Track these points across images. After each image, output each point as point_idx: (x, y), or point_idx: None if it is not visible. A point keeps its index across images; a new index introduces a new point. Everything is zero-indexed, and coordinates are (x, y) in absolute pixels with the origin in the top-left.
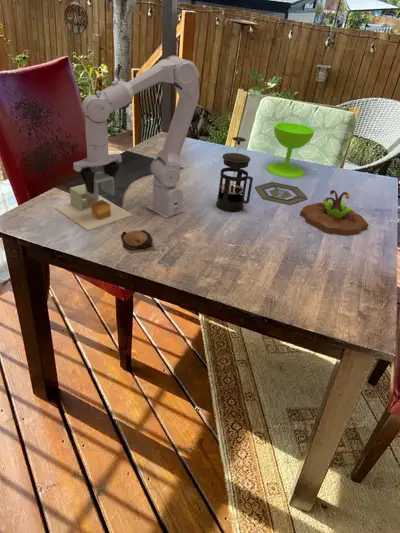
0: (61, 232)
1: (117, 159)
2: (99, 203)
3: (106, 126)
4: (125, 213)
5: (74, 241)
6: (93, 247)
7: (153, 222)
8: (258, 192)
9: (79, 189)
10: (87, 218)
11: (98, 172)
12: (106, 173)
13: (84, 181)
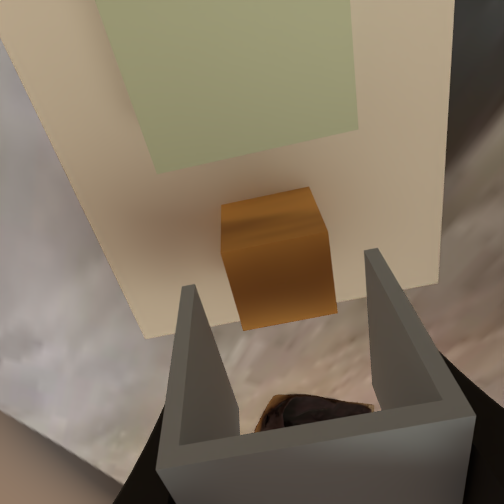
0: (9, 304)
1: None
2: (276, 279)
3: None
4: (414, 257)
5: (66, 383)
6: (134, 431)
7: (467, 359)
8: None
9: (182, 32)
10: (179, 236)
11: (401, 439)
12: (473, 480)
13: (137, 475)
